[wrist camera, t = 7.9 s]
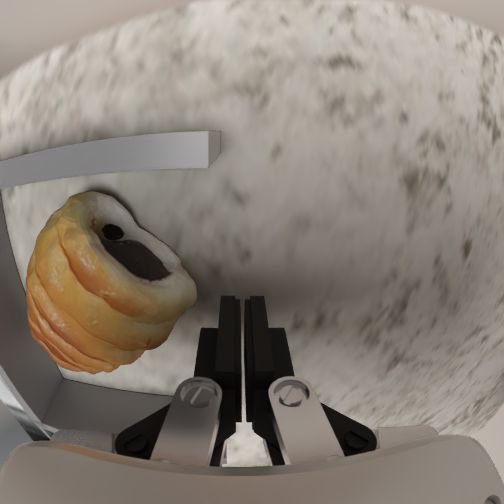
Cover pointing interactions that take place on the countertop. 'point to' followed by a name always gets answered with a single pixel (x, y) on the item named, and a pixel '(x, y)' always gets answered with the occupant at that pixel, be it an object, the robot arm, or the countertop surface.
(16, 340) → the box
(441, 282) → the countertop surface
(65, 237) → the pastry
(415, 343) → the countertop surface
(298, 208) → the countertop surface
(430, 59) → the countertop surface
